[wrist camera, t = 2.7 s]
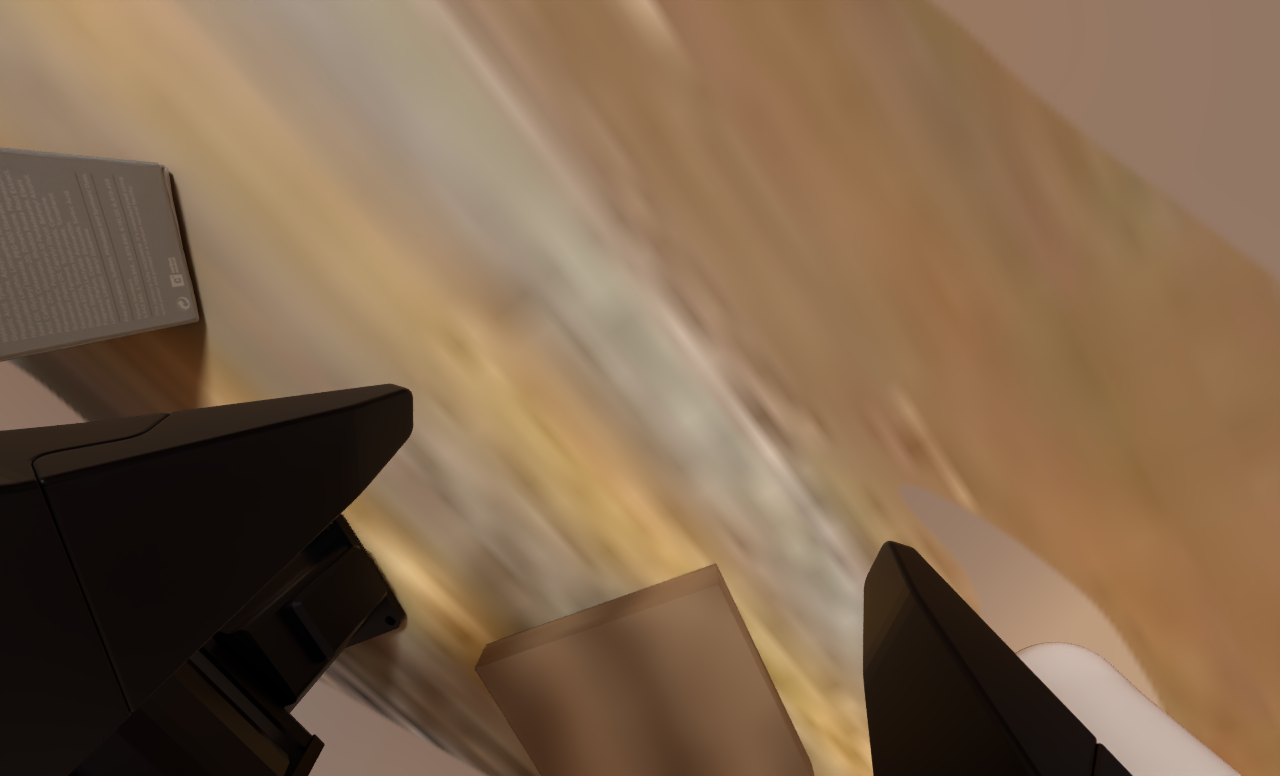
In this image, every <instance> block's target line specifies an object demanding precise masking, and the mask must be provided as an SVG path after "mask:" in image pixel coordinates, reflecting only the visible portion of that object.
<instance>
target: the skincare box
mask: <svg viewBox="0 0 1280 776" xmlns="http://www.w3.org/2000/svg"><path fill="white" fill-rule="evenodd" d="M198 321H199V315H198V310H197V304H196V299H195V295H194V290H193V286H192V282H191V278H190V275H189V271H188V267H187V263H186V259H185V255H184V251H183V246H182V242H181V237H180V231H179V226H178V220H177V216H176V212H175V206H174V202H173V196H172V191H171V184H170V176H169V171H168V169H167V168H166V167H165V166H164V165H160V164H158V163H154V162H143V161H133V160H122V159H111V158H100V157H90V156H80V155H70V154H61V153H51V152H41V151H31V150H21V149H11V148H2V147H0V362H1V361H6V360H11V359H15V358H20V357H25V356H30V355H35V354H40V353H45V352H50V351H55V350H60V349H65V348H70V347H75V346H80V345H85V344H90V343H95V342H100V341H105V340H110V339H114V338H120V337H125V336H130V335H135V334H140V333H145V332H150V331H155V330H160V329H165V328H171V327H176V326H181V325H186V324H191V323H195V322H198Z"/></svg>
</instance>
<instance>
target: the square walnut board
mask: <svg viewBox="0 0 1280 776" xmlns="http://www.w3.org/2000/svg"><path fill="white" fill-rule="evenodd" d="M475 670H476V672H477V673H478V675H479V677H480V678H481V680H482V681H483V683H484V685H485V686H486V688H487V689H488V691H489V693H490V694H491V696H492V697H493V699H494V701H495V702H496V704H497V705H498V707H499V709H500V710H501V712H502V713H503V715H504V717H505V718H506V720H507V721H508V723H509V725H510V726H511V728H512V729H513V731H514V733H515V734H516V736H517V737H518V739H519V741H520V742H521V744H522V745H523V747H524V749H525V750H526V752H527V753H528V755H529V757H530V758H531V760H532V761H533V763H534V765H535V766H536V768H537V769H538V771H539V773H540V774H541V776H814V772H813V768H812V764H811V761H810V759H809V757H808V755H807V753H806V751H805V749H804V747H803V745H802V742H801V740H800V738H799V736H798V734H797V732H796V730H795V728H794V726H793V724H792V721H791V719H790V717H789V715H788V713H787V711H786V709H785V707H784V705H783V703H782V701H781V698H780V696H779V694H778V692H777V690H776V688H775V686H774V684H773V682H772V680H771V678H770V675H769V673H768V671H767V669H766V667H765V665H764V663H763V661H762V659H761V657H760V654H759V652H758V650H757V648H756V646H755V644H754V642H753V640H752V638H751V636H750V634H749V631H748V629H747V627H746V625H745V623H744V621H743V619H742V617H741V615H740V613H739V611H738V608H737V606H736V604H735V602H734V600H733V598H732V596H731V594H730V592H729V590H728V587H727V585H726V583H725V581H724V579H723V577H722V575H721V573H720V571H719V569H718V567H717V564H714V565H711V566H708V567H705V568H702V569H699V570H697V571H694V572H691V573H688V574H685V575H682V576H680V577H677V578H674V579H671V580H668V581H665V582H663V583H660V584H657V585H654V586H651V587H648V588H645V589H643V590H640V591H637V592H634V593H631V594H628V595H626V596H623V597H620V598H617V599H614V600H611V601H609V602H606V603H603V604H600V605H597V606H594V607H592V608H589V609H586V610H583V611H580V612H577V613H575V614H572V615H569V616H566V617H563V618H560V619H558V620H555V621H552V622H549V623H546V624H543V625H541V626H538V627H535V628H532V629H529V630H526V631H524V632H521V633H518V634H515V635H512V636H509V637H507V638H504V639H501V640H498V641H495V642H492V643H490V644H487V645H486V646H485V649H484V651H483V653H482V655H481V657H480V659H479V661H478V663H477V665H476V667H475Z"/></svg>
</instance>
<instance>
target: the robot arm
mask: <svg viewBox="0 0 1280 776" xmlns="http://www.w3.org/2000/svg"><path fill="white" fill-rule="evenodd" d="M412 429H413V395H412V392H411V391H410V390H409V389H407V388H404V387H401V386H398V385H394V384H382V385H375V386H367V387H360V388H352V389H344V390H337V391H329V392H321V393H314V394H306V395H299V396H291V397H283V398H276V399H268V400H260V401H253V402H245V403H237V404H230V405H222V406H215V407H207V408H199V409H192V410H184V411H176V412H173V413H172V414H170V413H160V414H153V415H145V416H137V417H129V418H121V419H113V420H104V421H96V422H86V423H76V424H67V425H57V426H48V427H37V428H27V429H17V430H6V431H0V776H308V775H309V773H310V771H311V769H312V767H313V766H314V764H315V762H316V760H317V758H318V756H319V754H320V752H321V751H322V749H323V747H324V743H323V742H322V741H321V740H320V739H319V738H318V737H317V736H316V735H315V734H314V735H313V736H312V735H311V734H310V733H309V732H308V731H307V730H306V729H305V728H304V727H303V726H302V725H301V724H300V723H299V722H298V721H296V719H295V718H294V717H293V716H292V715H291V714H290V712H291V711H292V710H293V709H294V707H295V706H296V705H297V704H298V703H299V702H300V700H301V699H302V698H303V697H304V696H305V694H306V693H307V692H308V691H309V690H310V689H311V687H312V686H313V685H314V684H315V683H316V682H317V680H318V679H319V678H320V677H321V676H322V674H323V673H324V672H325V671H326V670H327V669H328V667H329V666H330V665H331V664H332V663H333V661H334V660H335V659H336V658H337V657H338V656H339V654H340V653H341V652H342V651H343V650H344V648H346V647H349V646H352V645H354V644H357V643H360V642H362V641H365V640H368V639H370V638H373V637H376V636H378V635H381V634H384V633H386V632H389V631H392V630H395V629H397V628H398V627H399V626H400V625H401V624H402V622H403V621H404V619H405V614H404V612H403V610H402V609H401V607H400V605H399V604H398V602H397V601H396V599H395V598H394V596H393V595H392V593H391V591H390V590H389V588H388V587H387V585H386V584H385V582H384V581H383V579H382V577H381V576H380V574H379V573H378V571H377V570H376V568H375V566H374V565H373V563H372V562H371V560H370V559H369V557H368V556H367V554H366V552H365V551H364V549H363V548H362V546H361V545H360V543H359V542H358V540H357V538H356V537H355V535H354V534H353V532H352V531H351V529H350V528H349V526H348V524H347V523H346V521H345V520H344V518H343V517H342V515H341V513H342V512H343V511H344V510H345V509H346V508H347V507H348V506H349V505H350V504H351V503H352V502H353V501H354V500H355V499H356V498H357V497H358V496H359V495H360V494H361V493H362V492H363V491H364V490H365V488H366V487H367V486H368V485H369V484H370V483H371V482H372V480H373V479H374V478H375V477H376V476H377V475H378V473H379V472H380V471H381V470H382V469H383V468H384V466H385V465H386V464H387V463H388V462H389V461H390V459H391V458H392V457H393V456H394V455H395V454H396V452H397V451H398V450H399V449H400V448H401V446H402V445H403V444H404V443H405V442H406V441H407V439H408V438H409V437H410V435H411V433H412ZM331 522H332V523H333V524H331ZM390 616H392V617H393V618H394V619H392V618H391V617H390ZM863 678H864V691H865V700H866V709H867V719H868V728H869V737H870V746H871V756H872V765H873V774H874V776H1133V775H1132V774H1131V773H1130V772H1129V771H1128V770H1127V769H1126V768H1125V767H1124V766H1123V765H1122V764H1121V763H1120V762H1119V761H1118V760H1117V759H1116V758H1115V756H1114V755H1113V754H1112V753H1111V752H1110V751H1109V750H1108V749H1107V748H1106V747H1105V746H1104V745H1103V744H1101V743H1097V739H1096V737H1095V736H1094V735H1093V734H1092V733H1091V732H1090V731H1089V730H1088V729H1087V728H1086V727H1085V725H1084V724H1083V723H1082V722H1081V721H1080V720H1079V719H1078V718H1077V717H1076V716H1075V715H1074V714H1073V713H1072V712H1071V711H1070V710H1069V709H1068V708H1067V707H1066V706H1065V705H1064V704H1063V703H1062V702H1061V701H1060V700H1059V699H1058V697H1057V696H1056V695H1055V694H1054V693H1053V692H1052V691H1051V690H1050V689H1049V688H1048V687H1047V686H1046V685H1045V684H1044V683H1043V682H1042V681H1041V680H1040V679H1039V678H1038V677H1037V676H1036V675H1035V674H1034V673H1033V672H1032V670H1031V669H1030V668H1029V667H1028V666H1027V665H1026V664H1025V663H1024V662H1023V661H1022V660H1021V659H1020V658H1019V657H1018V656H1017V655H1016V654H1015V653H1014V652H1013V651H1012V650H1011V649H1010V648H1009V647H1008V646H1007V645H1006V644H1005V642H1003V640H1001V638H1000V637H999V636H998V635H997V634H996V633H995V632H994V631H993V630H992V629H991V628H990V627H989V626H988V625H987V624H986V623H985V622H984V621H983V620H982V619H981V618H980V617H979V615H978V614H977V613H976V612H975V611H974V610H973V609H972V608H971V607H970V606H969V605H968V604H967V603H966V602H965V601H964V600H963V599H962V598H961V597H960V596H959V595H958V594H957V593H956V592H955V591H954V590H953V588H952V587H951V586H950V585H949V584H948V583H947V582H946V581H945V580H944V579H943V578H942V577H941V576H940V575H939V574H938V573H937V572H936V571H935V570H934V569H933V568H932V567H931V566H930V565H929V564H928V563H927V561H926V560H925V559H924V558H923V557H922V556H921V555H920V554H919V553H918V552H917V551H916V550H915V549H914V548H912V547H910V546H906V545H903V544H900V543H897V542H893V541H887V542H885V543H884V544H883V546H882V547H881V549H880V551H879V553H878V555H877V557H876V559H875V561H874V563H873V565H872V567H871V569H870V571H869V573H868V575H867V577H866V580H865V585H864V623H863Z"/></svg>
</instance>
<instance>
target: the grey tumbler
mask: <svg viewBox="0 0 1280 776" xmlns="http://www.w3.org/2000/svg"><path fill="white" fill-rule="evenodd" d="M1015 654H1016V655H1017V656H1018V657H1019V658H1020V659H1021V660H1022V661H1023V662H1024V663H1025V664H1026V665H1027V666H1028V667H1029V668H1030V669H1031V670H1032V672H1033V673H1034V674H1035V675H1036V676H1037V677H1038V678H1039V679H1040V680H1041V681H1042V682H1043V683H1044V684H1045V685H1046V686H1047V687H1048V688H1049V689H1050V690H1051V691H1052V692H1053V693H1054V694H1055V695H1056V696H1057V697H1058V699H1059V700H1060V701H1061V702H1062V703H1063V704H1064V705H1065V706H1066V707H1067V708H1068V709H1069V710H1070V711H1071V712H1072V713H1073V714H1074V715H1075V716H1076V717H1077V718H1078V719H1079V720H1080V721H1081V722H1082V723H1083V724H1084V725H1085V727H1086V728H1087V729H1088V730H1089V731H1090V732H1091V733H1092V734H1093V735H1094V736H1095V737H1096V739H1097V743H1101V744H1103V745H1104V746H1105V747H1106V748H1107V749H1108V750H1109V751H1110V752H1111V753H1112V754H1113V755H1114V756H1115V758H1116V759H1117V760H1118V761H1119V762H1120V763H1121V764H1122V765H1123V766H1124V767H1125V768H1126V769H1127V770H1128V771H1129V772H1130V773H1131V774H1132V775H1133V776H1242V775H1241V774H1240V773H1239V772H1237V771H1236V770H1235V769H1234V768H1232V767H1231V766H1230V765H1229V764H1228V763H1226V762H1225V761H1224V760H1223V759H1221V758H1220V757H1219V756H1218V755H1217V754H1215V753H1214V752H1213V751H1212V750H1210V749H1209V748H1208V747H1207V746H1206V745H1204V744H1203V743H1202V742H1201V741H1199V740H1198V739H1197V738H1196V737H1195V736H1193V735H1192V734H1191V733H1190V732H1189V731H1187V730H1186V729H1185V728H1184V727H1182V726H1181V725H1180V724H1179V723H1178V722H1176V721H1175V720H1174V719H1173V718H1172V717H1170V716H1169V715H1168V714H1167V713H1165V712H1164V711H1163V710H1162V709H1161V708H1159V707H1158V706H1157V705H1156V704H1155V703H1153V702H1152V701H1151V700H1150V699H1149V698H1147V697H1146V696H1145V695H1144V694H1142V693H1141V692H1140V691H1139V690H1138V689H1137V688H1136V687H1135V686H1134V685H1133V684H1132V683H1131V682H1129V681H1128V680H1127V679H1126V678H1125V677H1124V676H1123V675H1122V674H1121V673H1120V672H1119V671H1118V670H1117V669H1115V668H1114V666H1112V665H1111V664H1110V663H1109V662H1108V661H1107V660H1105V659H1104V658H1103V657H1101V656H1100V655H1098V654H1097V653H1095V652H1093V651H1091V650H1089V649H1086V648H1084V647H1081V646H1078V645H1075V644H1070V643H1061V642H1048V643H1041V644H1037V645H1033V646H1030V647H1027V648H1024V649H1022V650H1020V651H1018V652H1016V653H1015Z"/></svg>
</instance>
